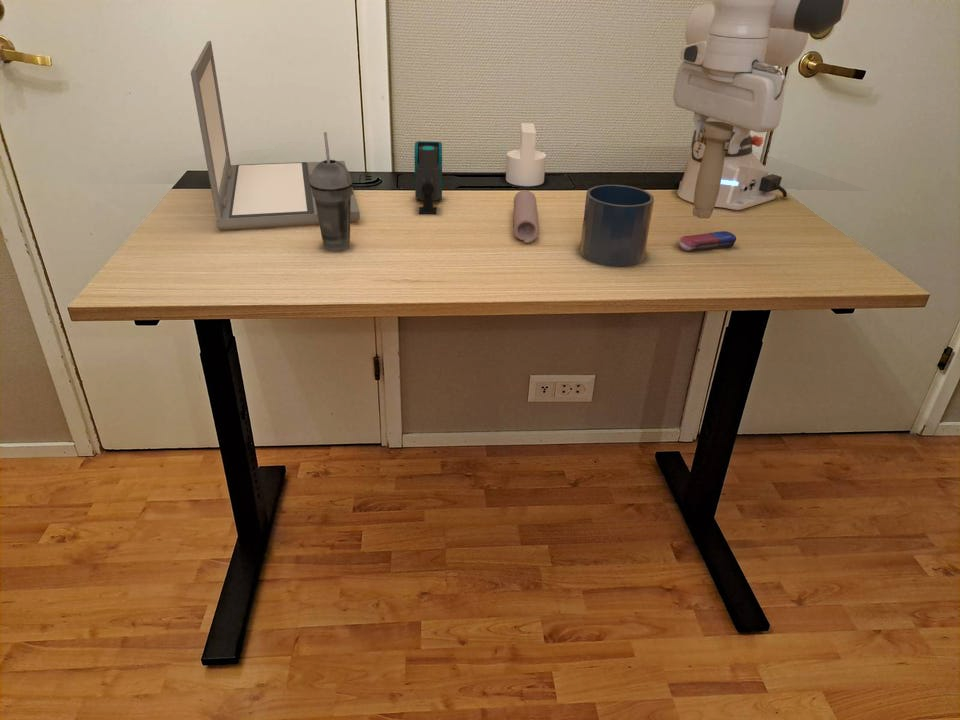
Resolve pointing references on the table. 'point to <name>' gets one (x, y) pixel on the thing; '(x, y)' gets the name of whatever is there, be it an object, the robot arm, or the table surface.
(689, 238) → the eraser
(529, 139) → the cylinder with rectangular tab
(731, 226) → the table surface
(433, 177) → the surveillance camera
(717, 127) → the handle
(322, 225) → the beverage cup
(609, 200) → the open cylindrical bucket
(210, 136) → the laptop
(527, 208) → the coil
